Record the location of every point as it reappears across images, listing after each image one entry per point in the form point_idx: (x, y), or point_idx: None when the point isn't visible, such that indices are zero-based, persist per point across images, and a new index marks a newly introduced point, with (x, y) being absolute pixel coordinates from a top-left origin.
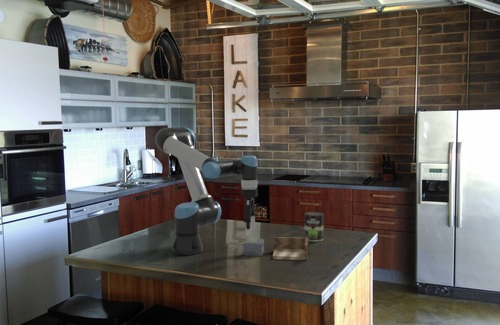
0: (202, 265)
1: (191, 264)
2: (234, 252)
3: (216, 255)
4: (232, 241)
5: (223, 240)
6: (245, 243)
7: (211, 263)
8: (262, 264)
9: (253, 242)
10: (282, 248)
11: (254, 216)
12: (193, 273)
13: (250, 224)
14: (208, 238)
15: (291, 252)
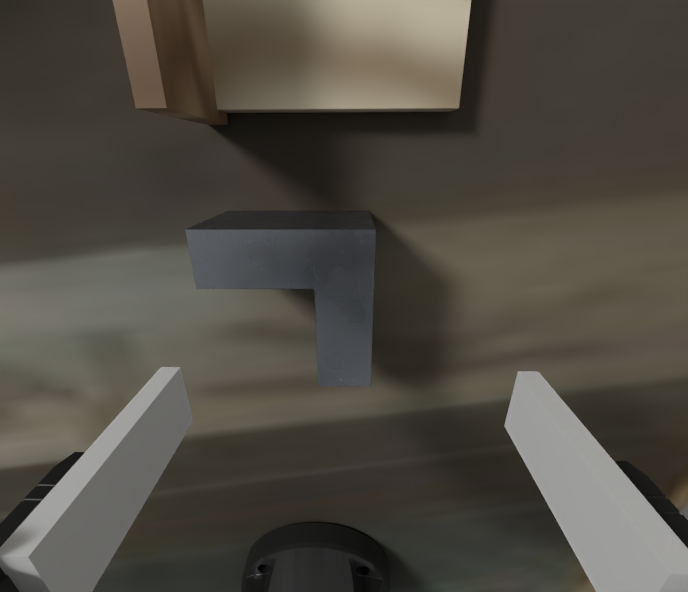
0: None
1: (530, 524)
2: (305, 388)
3: (377, 460)
4: (69, 428)
5: None
6: (370, 368)
7: None
8: (584, 183)
9: (337, 311)
10: (203, 21)
11: (30, 557)
12: (672, 498)
13: (659, 527)
14: None
15: None
